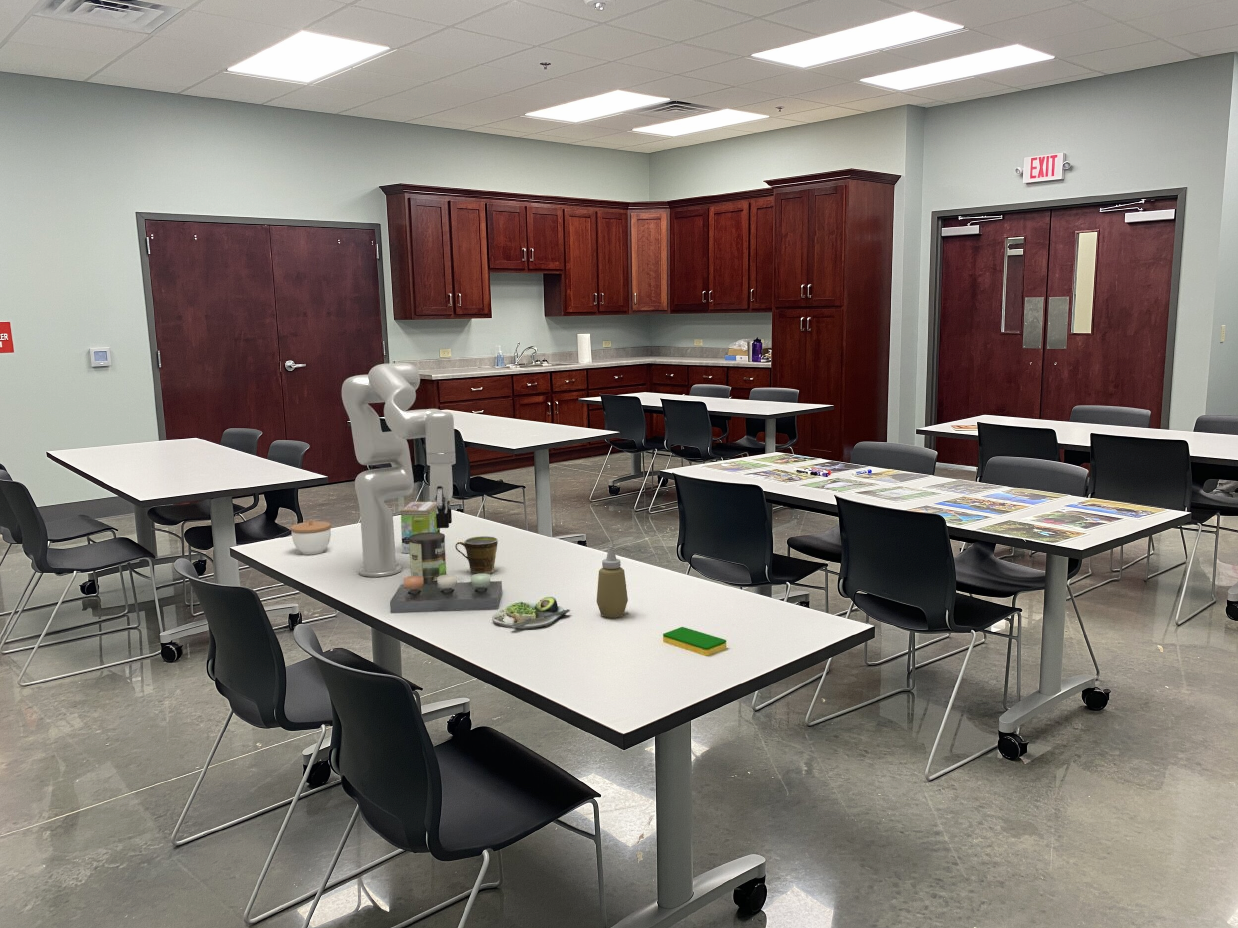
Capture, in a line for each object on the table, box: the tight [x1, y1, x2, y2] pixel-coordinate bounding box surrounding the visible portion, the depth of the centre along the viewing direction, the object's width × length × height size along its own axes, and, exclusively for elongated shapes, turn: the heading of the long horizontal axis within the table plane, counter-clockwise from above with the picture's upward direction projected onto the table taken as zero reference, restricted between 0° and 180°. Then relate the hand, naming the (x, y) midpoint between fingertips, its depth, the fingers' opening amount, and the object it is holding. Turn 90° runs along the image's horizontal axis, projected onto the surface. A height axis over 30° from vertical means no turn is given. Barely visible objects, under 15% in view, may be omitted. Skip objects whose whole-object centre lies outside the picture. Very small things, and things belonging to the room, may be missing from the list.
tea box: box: [400, 501, 441, 554], centre depth 311 cm, size 15×10×15 cm
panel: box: [389, 580, 503, 614], centre depth 252 cm, size 16×28×3 cm, turn 93°
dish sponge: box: [662, 626, 727, 657], centre depth 215 cm, size 7×14×2 cm, turn 44°
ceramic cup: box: [455, 535, 499, 575], centre depth 280 cm, size 13×10×10 cm
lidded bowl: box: [290, 519, 332, 556], centre depth 309 cm, size 13×13×11 cm
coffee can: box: [409, 532, 447, 584], centre depth 269 cm, size 10×10×14 cm
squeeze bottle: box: [596, 545, 629, 619], centre depth 237 cm, size 8×8×18 cm
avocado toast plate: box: [491, 596, 571, 630], centre depth 235 cm, size 19×18×5 cm
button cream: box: [437, 574, 458, 593], centre depth 251 cm, size 5×5×5 cm
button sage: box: [470, 573, 491, 592], centre depth 252 cm, size 5×5×5 cm
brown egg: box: [403, 575, 424, 594], centre depth 251 cm, size 5×5×5 cm
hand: (444, 524), depth 248 cm, fingers open, 4 cm apart
